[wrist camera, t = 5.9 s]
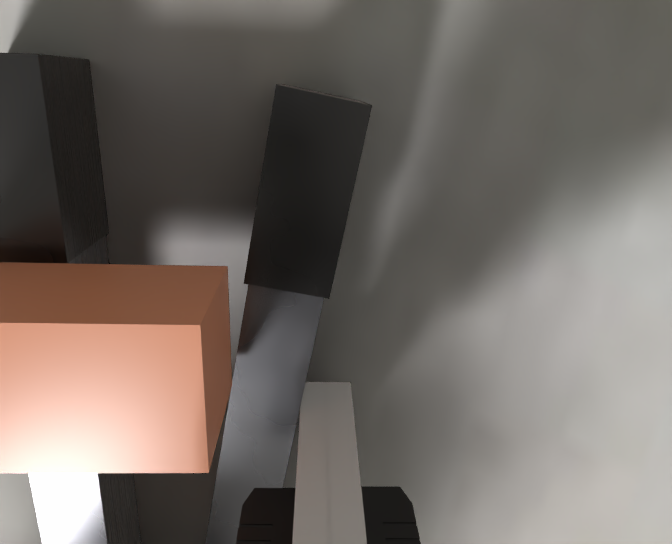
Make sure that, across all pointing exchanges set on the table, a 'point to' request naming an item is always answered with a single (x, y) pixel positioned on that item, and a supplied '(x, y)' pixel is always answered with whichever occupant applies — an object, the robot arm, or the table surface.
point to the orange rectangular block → (112, 367)
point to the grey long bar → (285, 288)
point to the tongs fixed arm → (59, 251)
